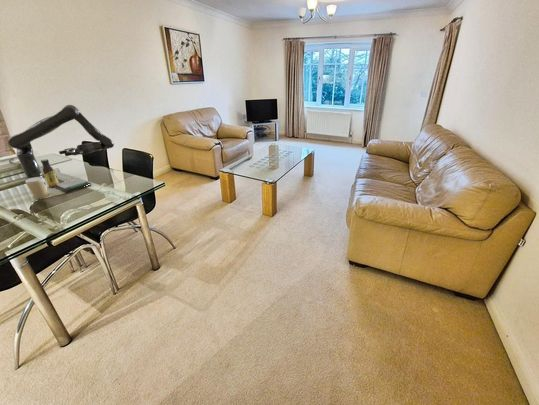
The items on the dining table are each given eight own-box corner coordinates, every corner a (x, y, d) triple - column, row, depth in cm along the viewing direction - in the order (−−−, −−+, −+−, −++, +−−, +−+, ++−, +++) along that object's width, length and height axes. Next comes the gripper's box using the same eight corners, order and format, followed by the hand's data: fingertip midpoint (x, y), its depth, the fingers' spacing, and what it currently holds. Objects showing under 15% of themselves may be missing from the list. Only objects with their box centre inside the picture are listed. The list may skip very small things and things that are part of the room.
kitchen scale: (55, 188, 179) (54, 184, 178) (80, 181, 192) (78, 177, 190) (66, 193, 172) (65, 189, 171) (91, 185, 185) (90, 181, 183)
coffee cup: (53, 194, 171) (46, 177, 166) (38, 199, 164) (30, 182, 158) (44, 191, 174) (37, 175, 168) (29, 197, 166) (21, 180, 161)
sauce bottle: (53, 188, 179) (42, 162, 170) (46, 187, 180) (35, 161, 171) (62, 185, 185) (51, 159, 175) (55, 184, 186) (44, 158, 177)
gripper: (79, 142, 196) (55, 147, 183) (89, 145, 189) (65, 150, 177) (83, 152, 199) (59, 157, 187) (92, 154, 193) (69, 160, 180)
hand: (62, 153), depth 182 cm, fingers open, 8 cm apart
